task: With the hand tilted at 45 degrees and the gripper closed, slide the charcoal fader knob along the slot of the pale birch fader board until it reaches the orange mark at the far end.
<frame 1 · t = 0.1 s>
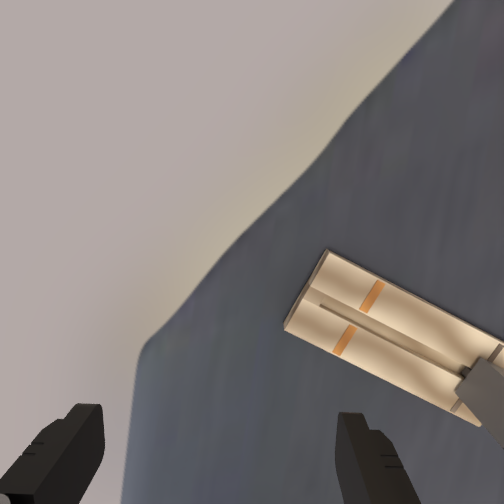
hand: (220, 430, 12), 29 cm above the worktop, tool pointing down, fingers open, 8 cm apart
fader board: (401, 336, 43), on the worktop
fader knob: (500, 401, 37), point 6 cm above the worktop, slide at 0.0 cm
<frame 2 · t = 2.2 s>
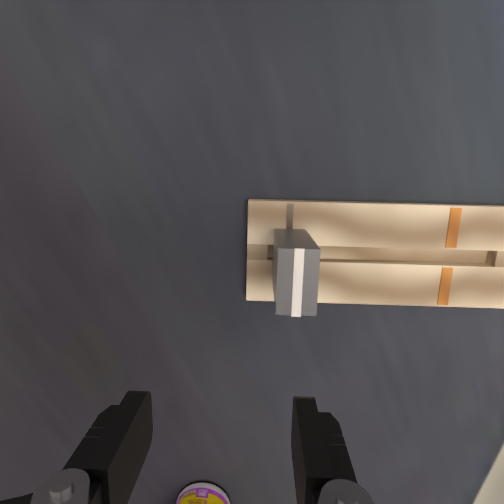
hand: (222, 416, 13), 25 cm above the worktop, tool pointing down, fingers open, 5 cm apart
fader board: (374, 251, 37), on the worktop
supplement bottle: (203, 500, 45), on the worktop
fader knob: (291, 264, 31), point 6 cm above the worktop, slide at 0.0 cm
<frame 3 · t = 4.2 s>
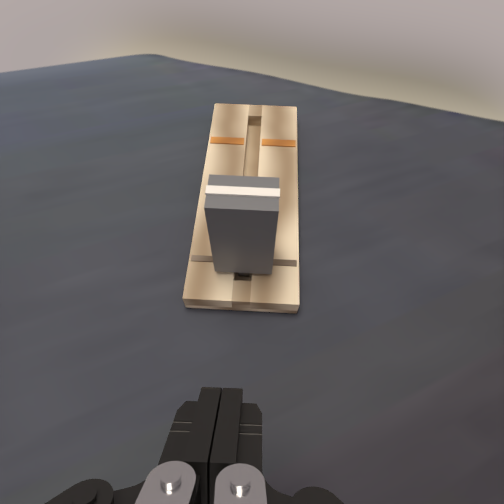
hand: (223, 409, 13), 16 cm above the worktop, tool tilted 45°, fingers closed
fader board: (249, 198, 40), on the worktop
fader knob: (243, 234, 30), point 6 cm above the worktop, slide at 0.0 cm
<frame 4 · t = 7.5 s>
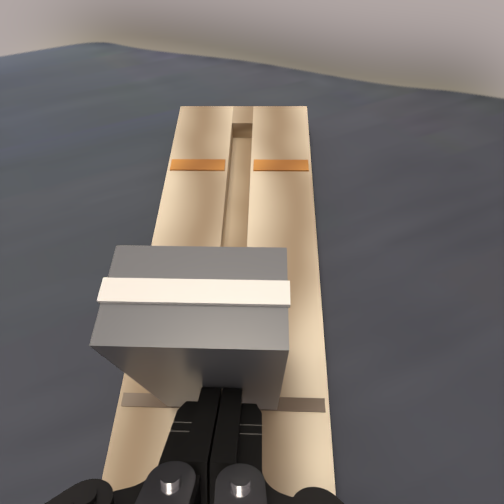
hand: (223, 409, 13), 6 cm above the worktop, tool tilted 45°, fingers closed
fader board: (235, 260, 24), on the worktop
fader knob: (216, 350, 14), point 6 cm above the worktop, slide at 1.2 cm
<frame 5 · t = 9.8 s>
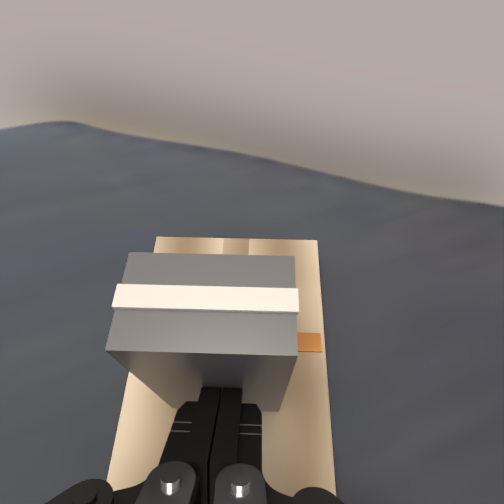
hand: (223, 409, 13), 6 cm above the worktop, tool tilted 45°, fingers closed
fader board: (223, 485, 18), on the worktop
fader knob: (221, 354, 15), point 6 cm above the worktop, slide at 13.5 cm, touching gripper
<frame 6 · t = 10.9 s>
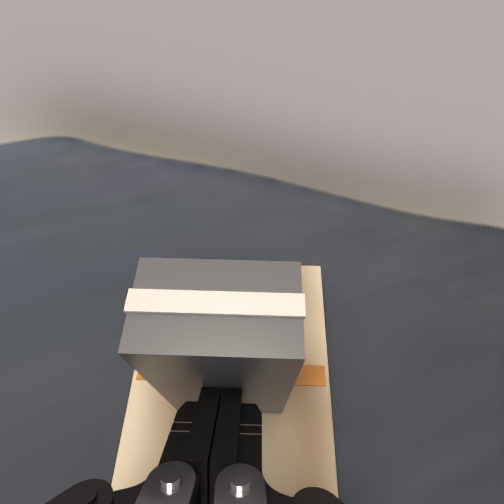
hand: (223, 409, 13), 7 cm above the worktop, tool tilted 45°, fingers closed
fader knob: (226, 356, 15), point 6 cm above the worktop, slide at 15.1 cm, touching gripper
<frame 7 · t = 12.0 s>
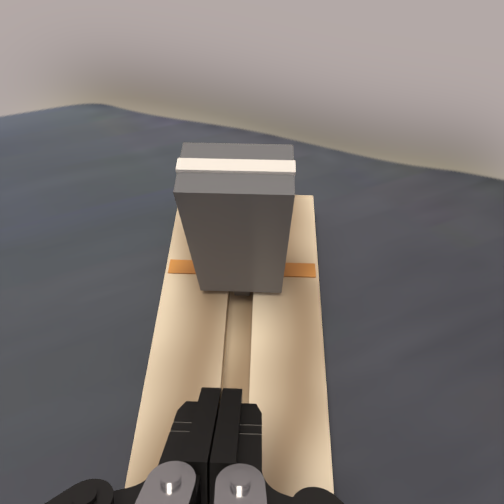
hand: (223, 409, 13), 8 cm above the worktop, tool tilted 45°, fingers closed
fader board: (237, 378, 22), on the worktop
fader knob: (240, 236, 20), point 6 cm above the worktop, slide at 15.1 cm
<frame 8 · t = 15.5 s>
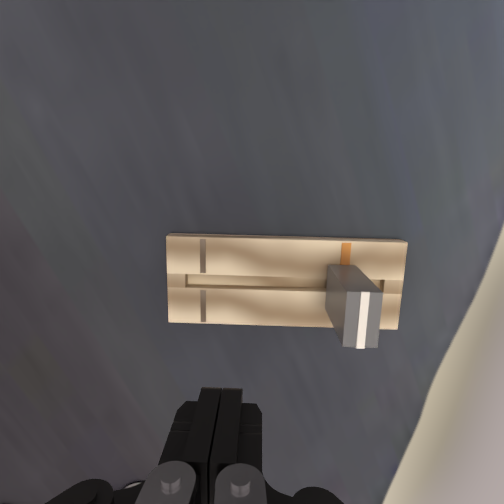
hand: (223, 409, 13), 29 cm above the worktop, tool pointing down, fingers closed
fader board: (283, 278, 42), on the worktop
fader knob: (348, 299, 36), point 6 cm above the worktop, slide at 15.1 cm
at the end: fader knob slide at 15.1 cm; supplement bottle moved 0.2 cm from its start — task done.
